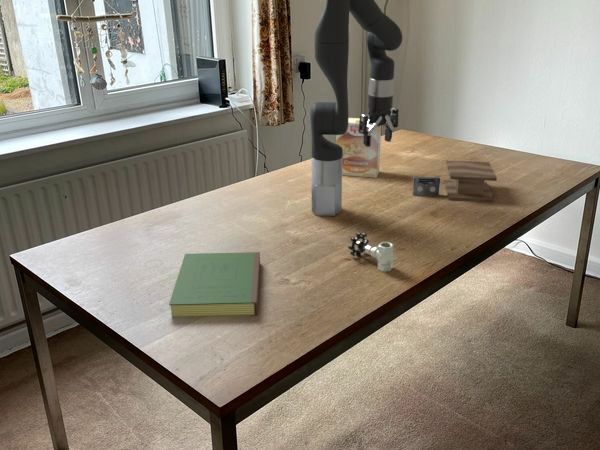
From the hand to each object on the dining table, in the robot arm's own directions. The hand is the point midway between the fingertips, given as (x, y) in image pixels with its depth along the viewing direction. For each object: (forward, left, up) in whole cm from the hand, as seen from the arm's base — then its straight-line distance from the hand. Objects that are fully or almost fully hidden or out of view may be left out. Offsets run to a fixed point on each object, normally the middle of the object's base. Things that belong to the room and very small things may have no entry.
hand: (377, 143), depth 189 cm
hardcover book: (-65, +36, -18) cm, 77 cm away
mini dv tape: (+2, -16, -18) cm, 24 cm away
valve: (-49, 0, -18) cm, 52 cm away
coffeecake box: (+21, +7, -18) cm, 28 cm away
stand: (+6, -30, -17) cm, 35 cm away
